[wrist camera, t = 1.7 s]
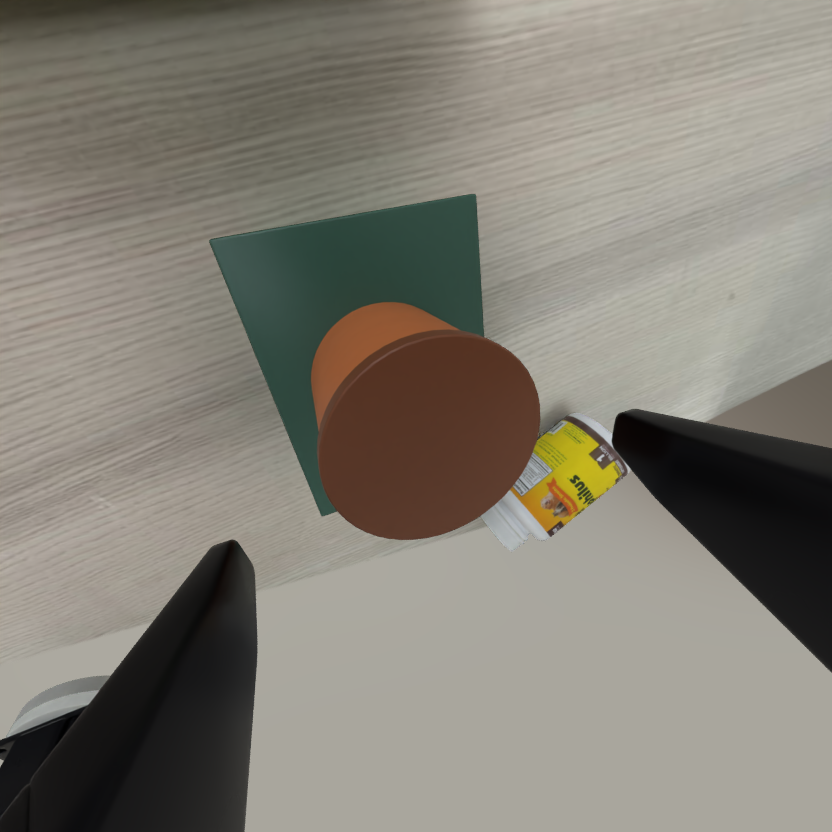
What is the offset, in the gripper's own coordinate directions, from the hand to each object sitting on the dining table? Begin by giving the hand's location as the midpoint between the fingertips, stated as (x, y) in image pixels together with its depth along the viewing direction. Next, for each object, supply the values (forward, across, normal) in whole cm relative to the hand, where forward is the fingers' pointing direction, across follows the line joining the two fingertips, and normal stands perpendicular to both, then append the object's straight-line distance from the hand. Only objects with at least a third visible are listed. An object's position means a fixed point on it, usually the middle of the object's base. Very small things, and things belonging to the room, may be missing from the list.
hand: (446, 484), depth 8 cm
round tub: (+8, 0, +1) cm, 8 cm away
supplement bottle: (+10, -15, +11) cm, 21 cm away
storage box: (+13, 0, +1) cm, 13 cm away
